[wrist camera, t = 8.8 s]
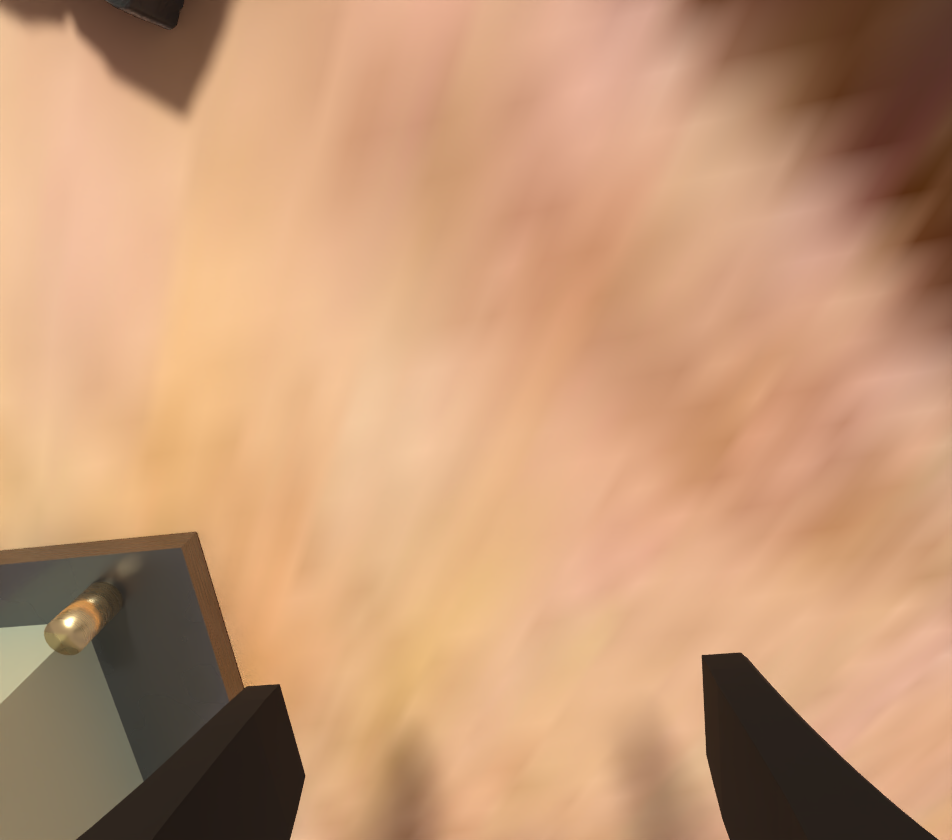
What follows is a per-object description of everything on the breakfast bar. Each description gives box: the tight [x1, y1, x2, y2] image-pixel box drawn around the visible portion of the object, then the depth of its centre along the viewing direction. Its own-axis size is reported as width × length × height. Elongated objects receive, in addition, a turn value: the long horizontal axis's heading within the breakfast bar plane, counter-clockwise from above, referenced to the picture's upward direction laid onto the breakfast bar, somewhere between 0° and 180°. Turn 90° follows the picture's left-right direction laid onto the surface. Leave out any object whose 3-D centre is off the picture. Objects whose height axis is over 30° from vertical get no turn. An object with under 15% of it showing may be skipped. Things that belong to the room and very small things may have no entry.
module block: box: [0, 624, 144, 840], centre depth 21 cm, size 4×8×6 cm, turn 8°
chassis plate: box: [0, 532, 244, 781], centre depth 23 cm, size 13×12×3 cm
